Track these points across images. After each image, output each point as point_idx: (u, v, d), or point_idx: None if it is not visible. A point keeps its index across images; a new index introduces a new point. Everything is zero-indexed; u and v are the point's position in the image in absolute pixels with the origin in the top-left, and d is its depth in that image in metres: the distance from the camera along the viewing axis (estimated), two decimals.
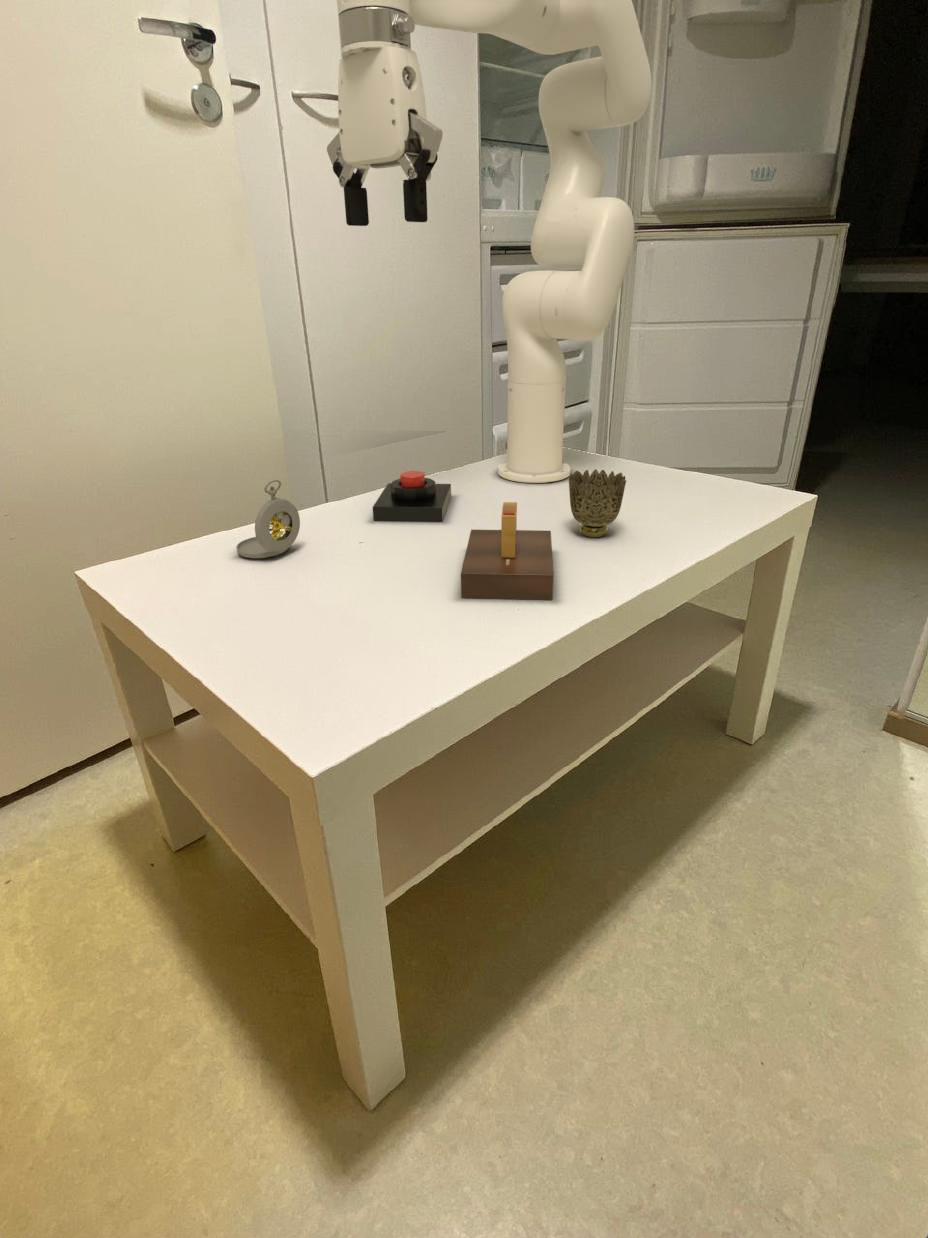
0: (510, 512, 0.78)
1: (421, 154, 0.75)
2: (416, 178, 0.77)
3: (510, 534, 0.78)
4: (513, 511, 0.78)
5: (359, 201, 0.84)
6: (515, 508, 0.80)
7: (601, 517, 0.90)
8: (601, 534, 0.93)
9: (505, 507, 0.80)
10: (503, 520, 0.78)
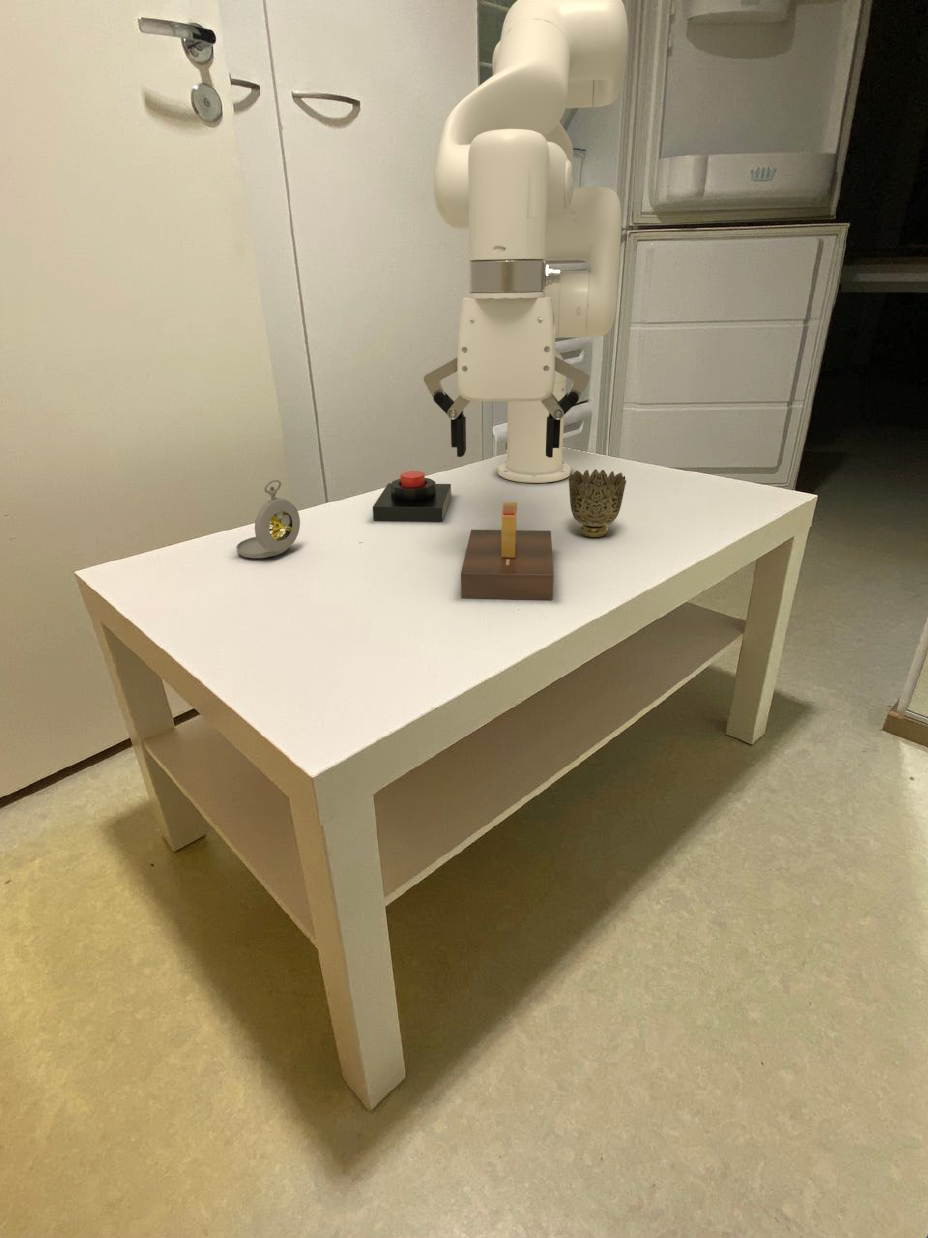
0: (510, 512, 0.78)
1: (571, 397, 0.73)
2: (560, 418, 0.74)
3: (510, 534, 0.78)
4: (513, 511, 0.78)
5: (464, 430, 0.77)
6: (515, 508, 0.80)
7: (601, 517, 0.90)
8: (601, 534, 0.93)
9: (505, 507, 0.80)
10: (503, 520, 0.78)
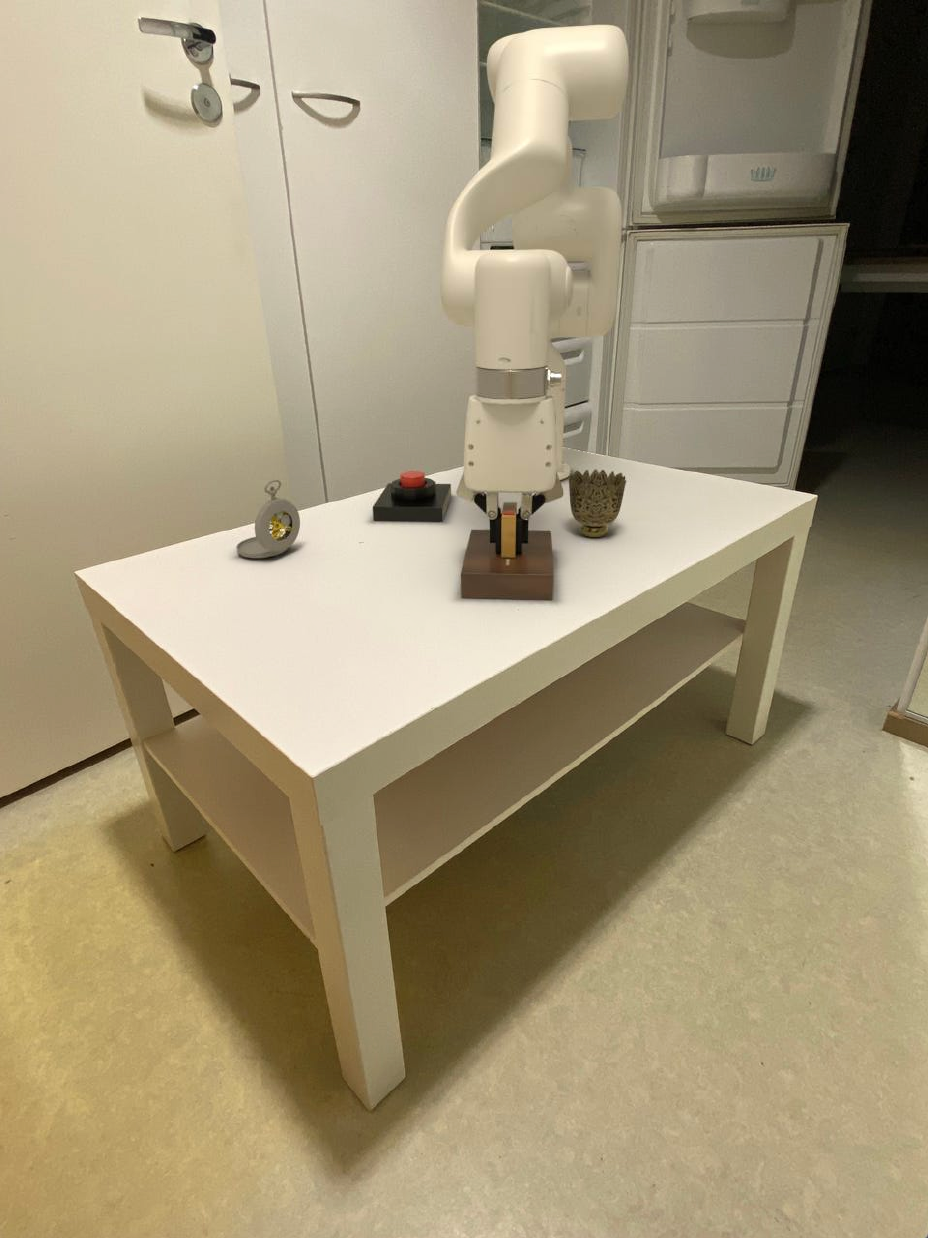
0: (510, 512, 0.78)
1: (538, 500, 0.78)
2: (528, 517, 0.79)
3: (510, 534, 0.78)
4: (513, 511, 0.78)
5: None
6: (515, 508, 0.80)
7: (601, 517, 0.90)
8: (601, 534, 0.93)
9: (505, 507, 0.80)
10: (503, 520, 0.78)
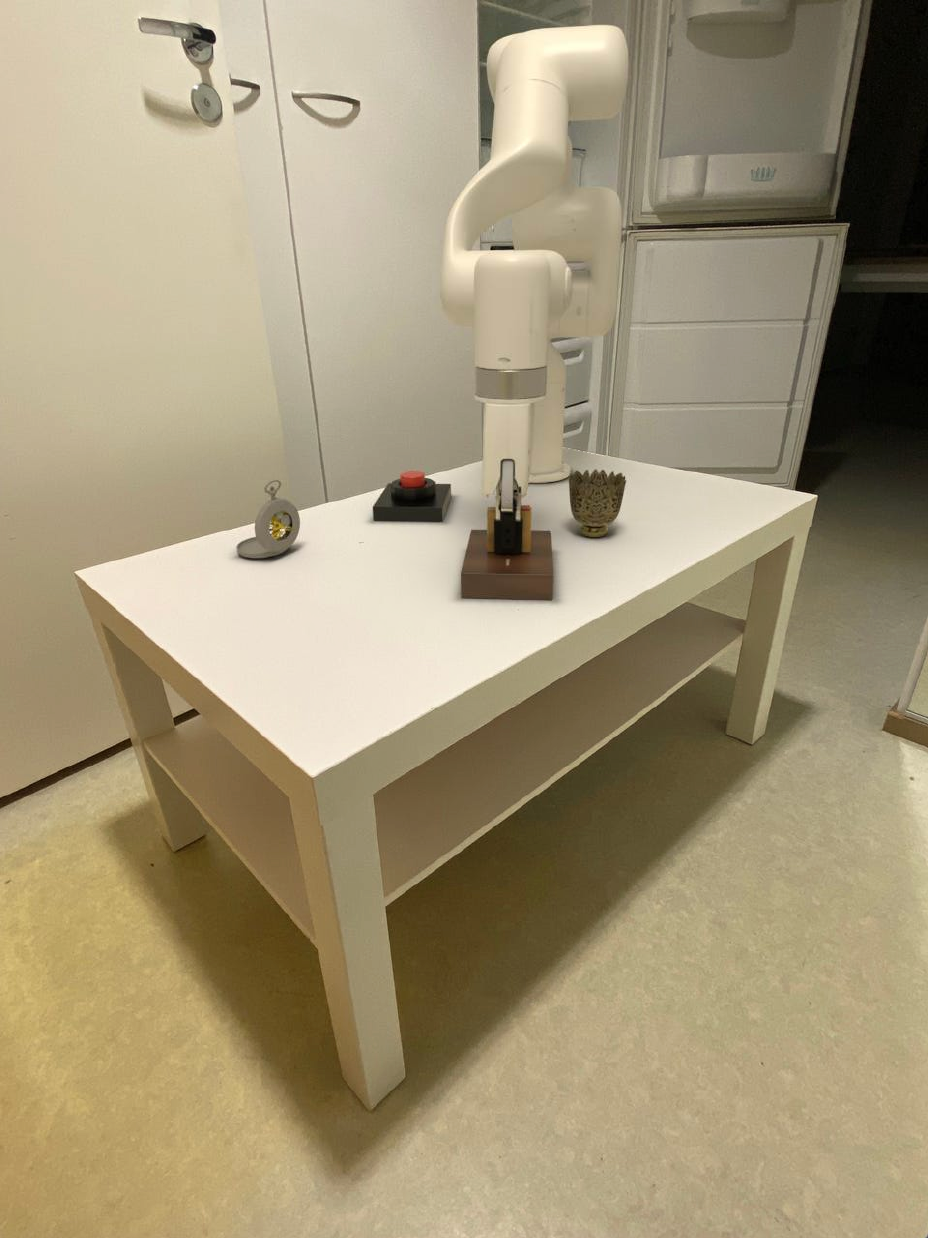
0: (527, 506, 0.79)
1: None
2: None
3: None
4: (524, 505, 0.80)
5: None
6: None
7: (601, 517, 0.90)
8: (601, 534, 0.93)
9: None
10: None
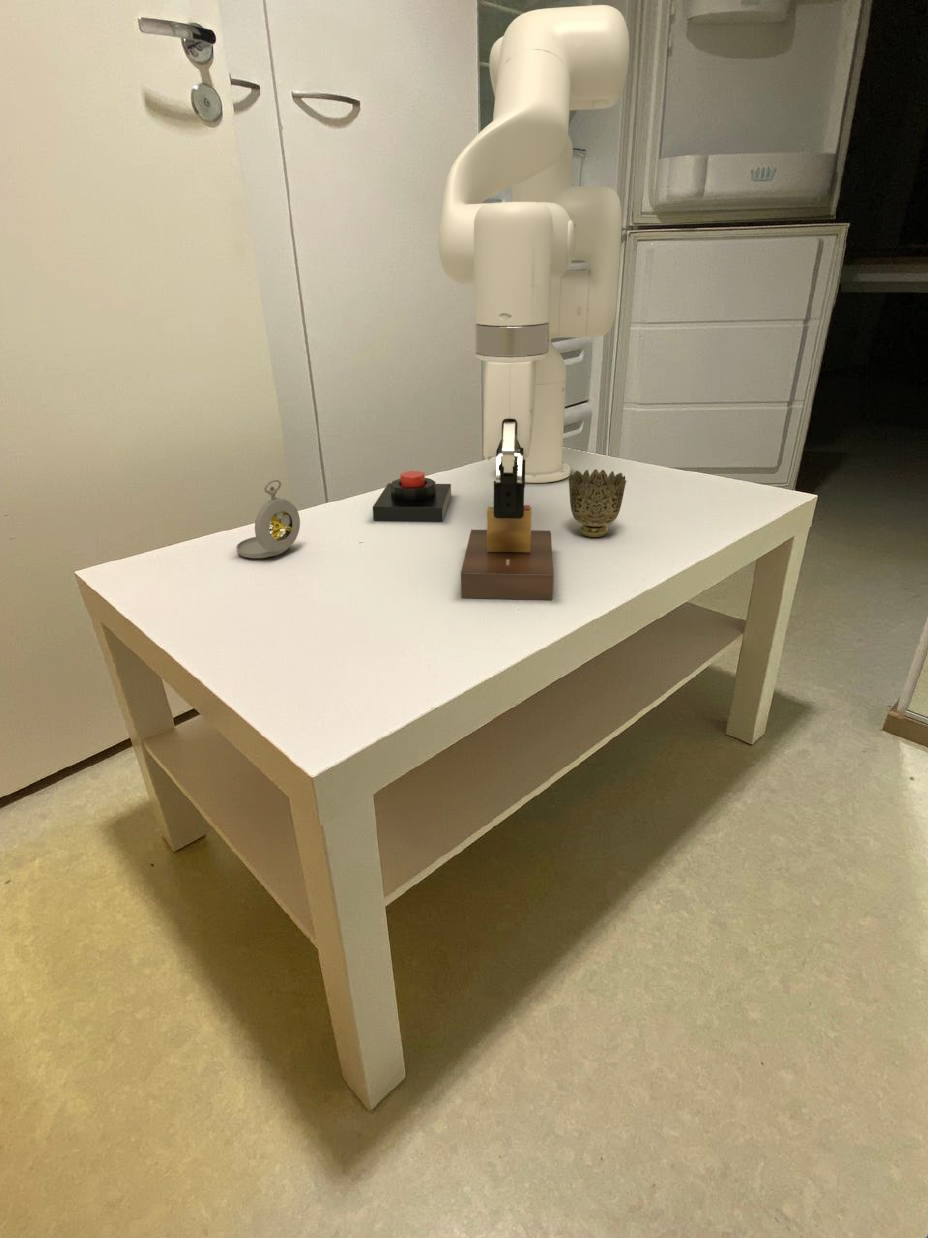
0: (527, 506, 0.79)
1: None
2: None
3: None
4: (524, 505, 0.80)
5: None
6: None
7: (601, 517, 0.90)
8: (601, 534, 0.93)
9: None
10: None
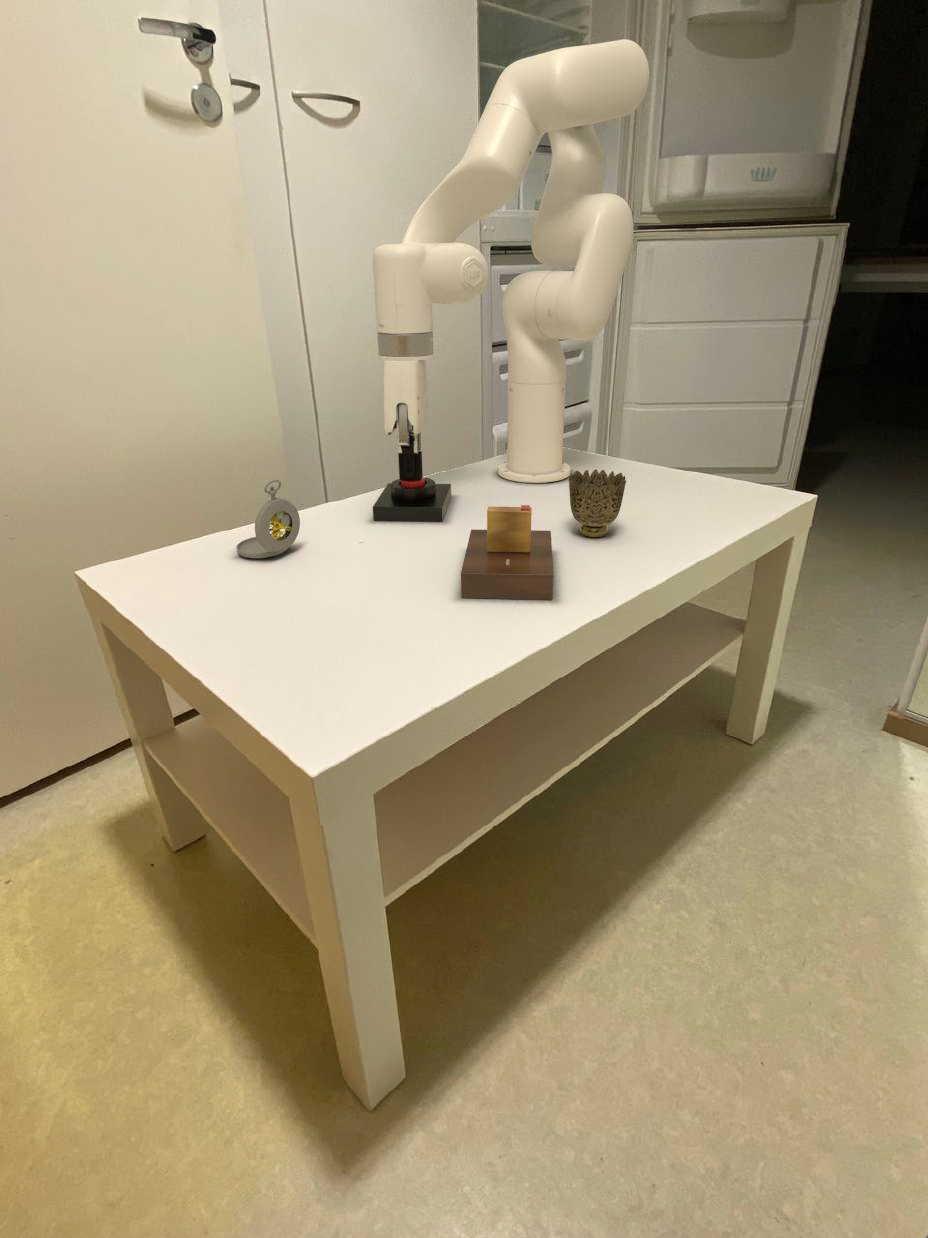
0: (527, 506, 0.79)
1: None
2: None
3: None
4: (524, 505, 0.80)
5: None
6: (508, 507, 0.80)
7: (601, 517, 0.90)
8: (601, 534, 0.93)
9: (505, 509, 0.79)
10: None
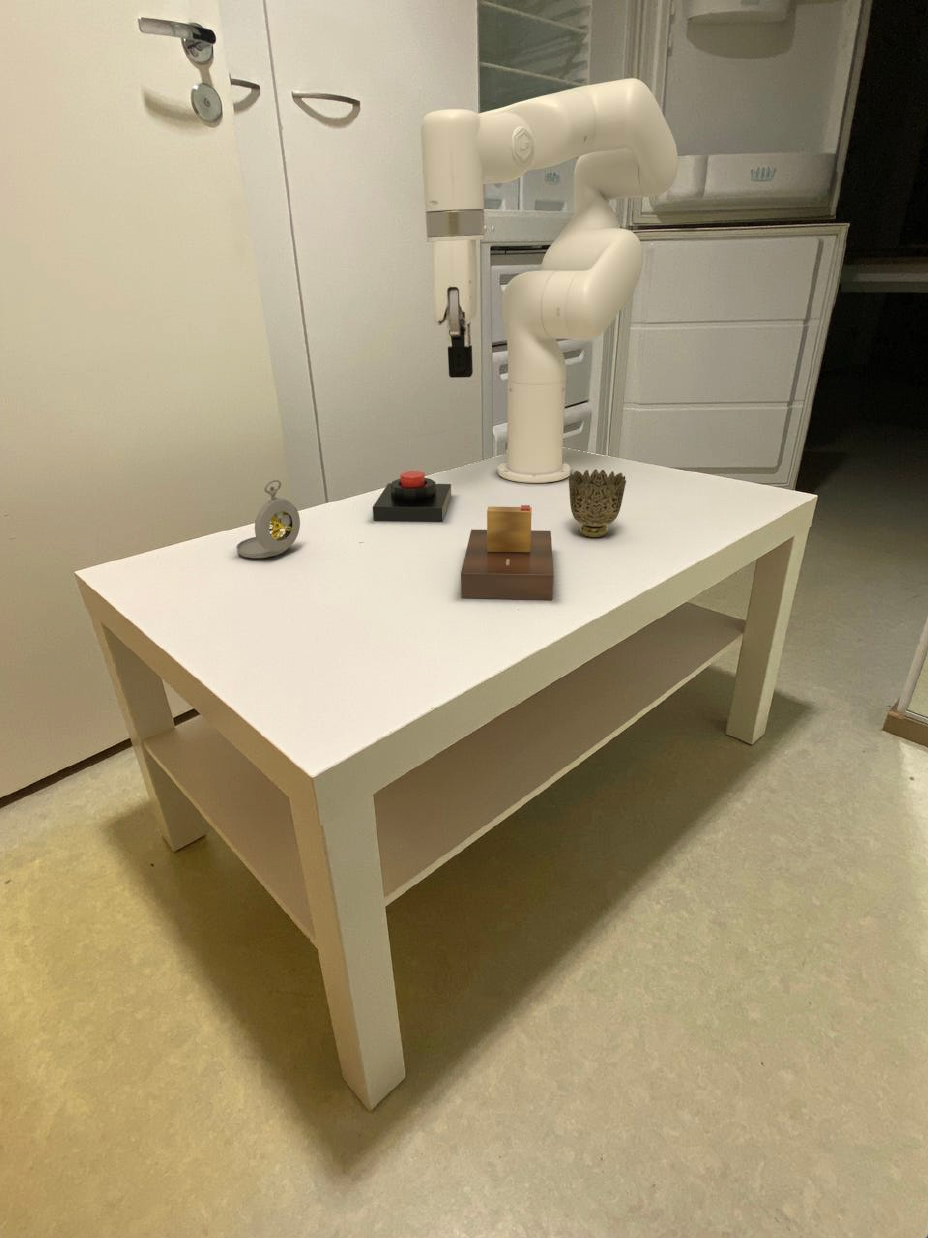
0: (527, 506, 0.79)
1: None
2: None
3: None
4: (524, 505, 0.80)
5: None
6: (508, 507, 0.80)
7: (601, 517, 0.90)
8: (601, 534, 0.93)
9: (505, 509, 0.79)
10: None
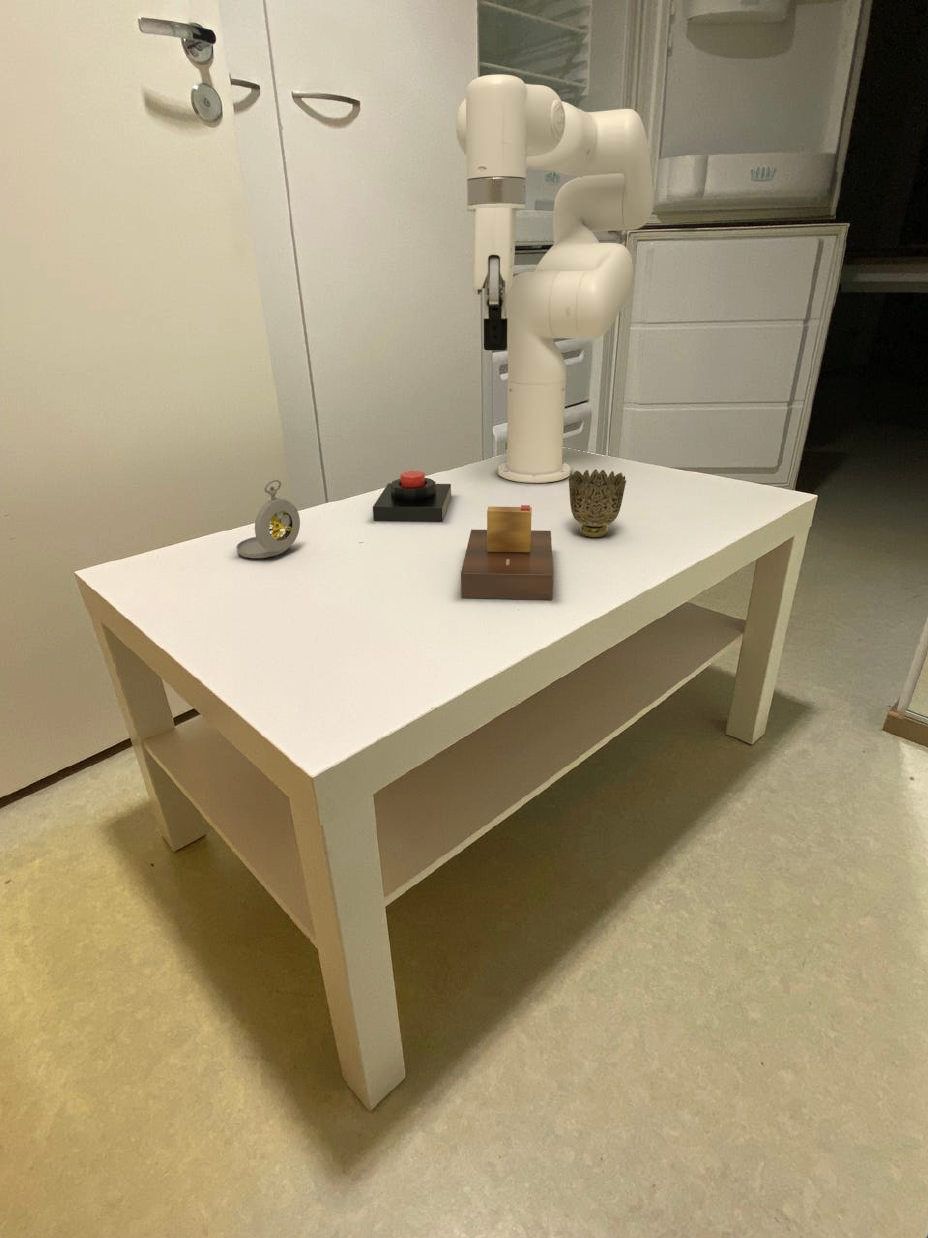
0: (527, 506, 0.79)
1: None
2: None
3: None
4: (524, 505, 0.80)
5: None
6: (508, 507, 0.80)
7: (601, 517, 0.90)
8: (601, 534, 0.93)
9: (505, 509, 0.79)
10: None
